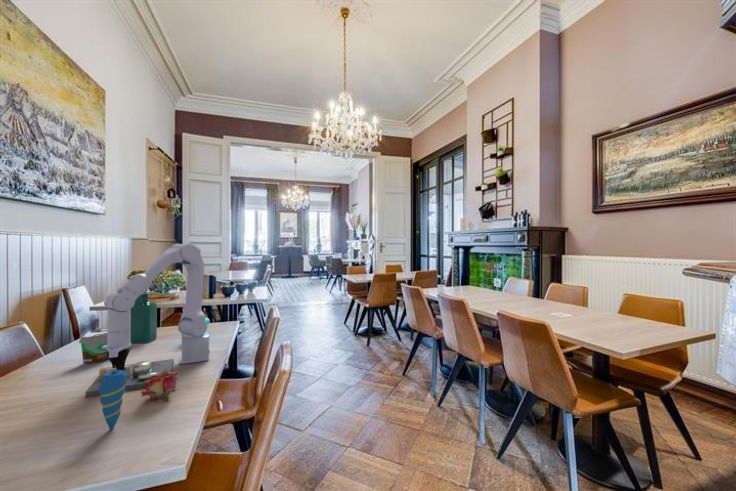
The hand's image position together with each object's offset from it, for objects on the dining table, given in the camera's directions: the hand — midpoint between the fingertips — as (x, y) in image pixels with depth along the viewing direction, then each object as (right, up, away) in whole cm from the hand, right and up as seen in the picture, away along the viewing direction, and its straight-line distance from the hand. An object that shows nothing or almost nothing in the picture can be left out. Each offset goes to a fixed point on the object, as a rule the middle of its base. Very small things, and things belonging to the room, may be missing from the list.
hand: (118, 373), depth 101 cm
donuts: (+1, -3, +44) cm, 44 cm away
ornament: (+19, -3, -26) cm, 32 cm away
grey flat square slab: (+3, -3, +3) cm, 5 cm away
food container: (-21, -3, +19) cm, 29 cm away
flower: (+20, -3, -10) cm, 23 cm away
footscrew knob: (+1, -1, +2) cm, 2 cm away
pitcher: (-23, -3, +43) cm, 49 cm away
